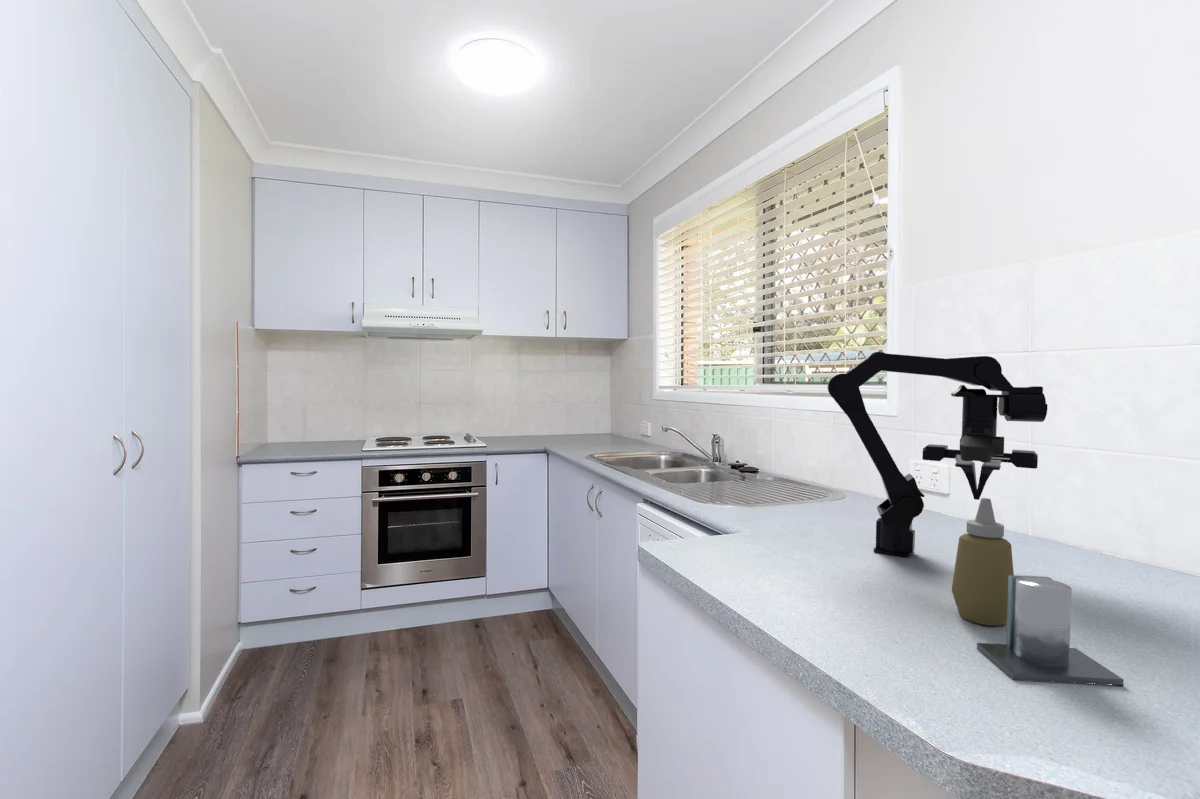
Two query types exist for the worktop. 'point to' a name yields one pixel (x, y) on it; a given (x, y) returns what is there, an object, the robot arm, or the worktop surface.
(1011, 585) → the bookend
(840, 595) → the worktop surface
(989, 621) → the squeeze bottle
